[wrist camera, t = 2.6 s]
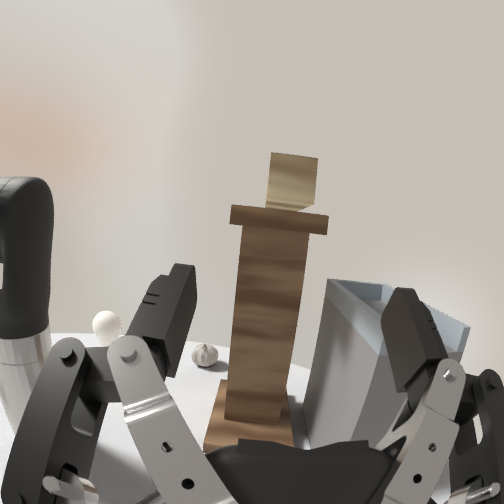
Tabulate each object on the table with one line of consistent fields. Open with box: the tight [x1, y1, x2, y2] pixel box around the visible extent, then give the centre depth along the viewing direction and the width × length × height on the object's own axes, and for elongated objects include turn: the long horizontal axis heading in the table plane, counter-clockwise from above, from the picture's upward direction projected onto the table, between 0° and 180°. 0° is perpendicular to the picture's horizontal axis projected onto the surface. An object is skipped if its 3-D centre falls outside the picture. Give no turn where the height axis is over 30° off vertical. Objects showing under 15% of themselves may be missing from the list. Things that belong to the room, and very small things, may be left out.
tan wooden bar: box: [265, 152, 318, 212], centre depth 32 cm, size 26×3×3 cm, turn 178°
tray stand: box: [302, 279, 470, 449], centre depth 32 cm, size 22×10×24 cm, turn 178°
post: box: [203, 205, 329, 453], centre depth 38 cm, size 18×12×32 cm, turn 178°
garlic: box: [192, 344, 218, 367], centre depth 57 cm, size 6×5×5 cm
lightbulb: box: [93, 311, 122, 347], centre depth 50 cm, size 6×6×11 cm
